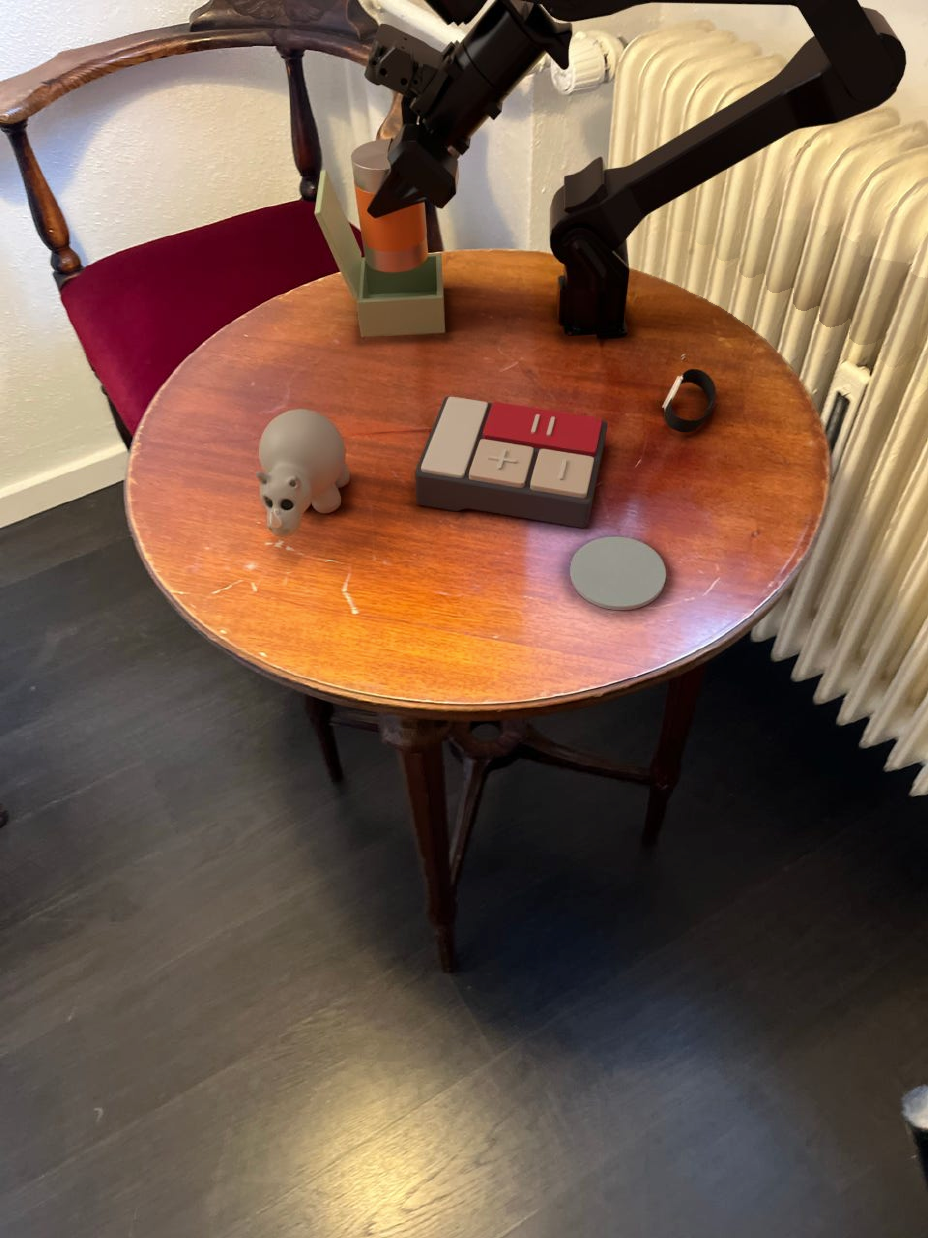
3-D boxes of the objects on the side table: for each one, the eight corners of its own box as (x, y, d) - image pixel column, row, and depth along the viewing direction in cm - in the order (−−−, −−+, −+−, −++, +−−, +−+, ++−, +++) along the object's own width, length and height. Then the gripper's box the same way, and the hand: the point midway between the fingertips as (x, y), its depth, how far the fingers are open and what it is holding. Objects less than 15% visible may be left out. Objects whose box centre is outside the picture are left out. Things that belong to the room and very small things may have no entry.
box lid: (326, 168, 88) (320, 170, 89) (320, 211, 83) (314, 213, 83) (361, 253, 95) (356, 255, 96) (358, 297, 90) (352, 299, 90)
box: (443, 292, 99) (441, 252, 96) (445, 337, 94) (442, 297, 90) (364, 296, 99) (359, 257, 96) (361, 341, 94) (356, 302, 90)
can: (426, 237, 92) (418, 135, 85) (430, 269, 88) (421, 166, 80) (364, 242, 92) (350, 141, 84) (364, 275, 88) (350, 172, 80)
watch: (673, 383, 87) (679, 351, 84) (721, 394, 86) (728, 362, 83) (651, 431, 83) (656, 398, 80) (701, 442, 81) (708, 410, 79)
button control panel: (592, 497, 72) (413, 467, 74) (586, 534, 75) (414, 504, 77) (609, 413, 79) (445, 387, 81) (603, 450, 82) (445, 425, 84)
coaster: (656, 538, 74) (657, 533, 74) (673, 608, 69) (674, 603, 69) (565, 542, 74) (565, 538, 74) (575, 613, 69) (576, 609, 69)
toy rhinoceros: (240, 559, 74) (214, 482, 68) (287, 464, 82) (268, 387, 75) (323, 569, 73) (304, 493, 67) (362, 473, 81) (349, 395, 74)
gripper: (426, -46, 78) (323, 94, 88) (402, 30, 66) (286, 182, 76) (516, 53, 84) (410, 174, 93) (508, 139, 72) (388, 268, 81)
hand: (375, 196), depth 86 cm, fingers closed on can, 6 cm apart
